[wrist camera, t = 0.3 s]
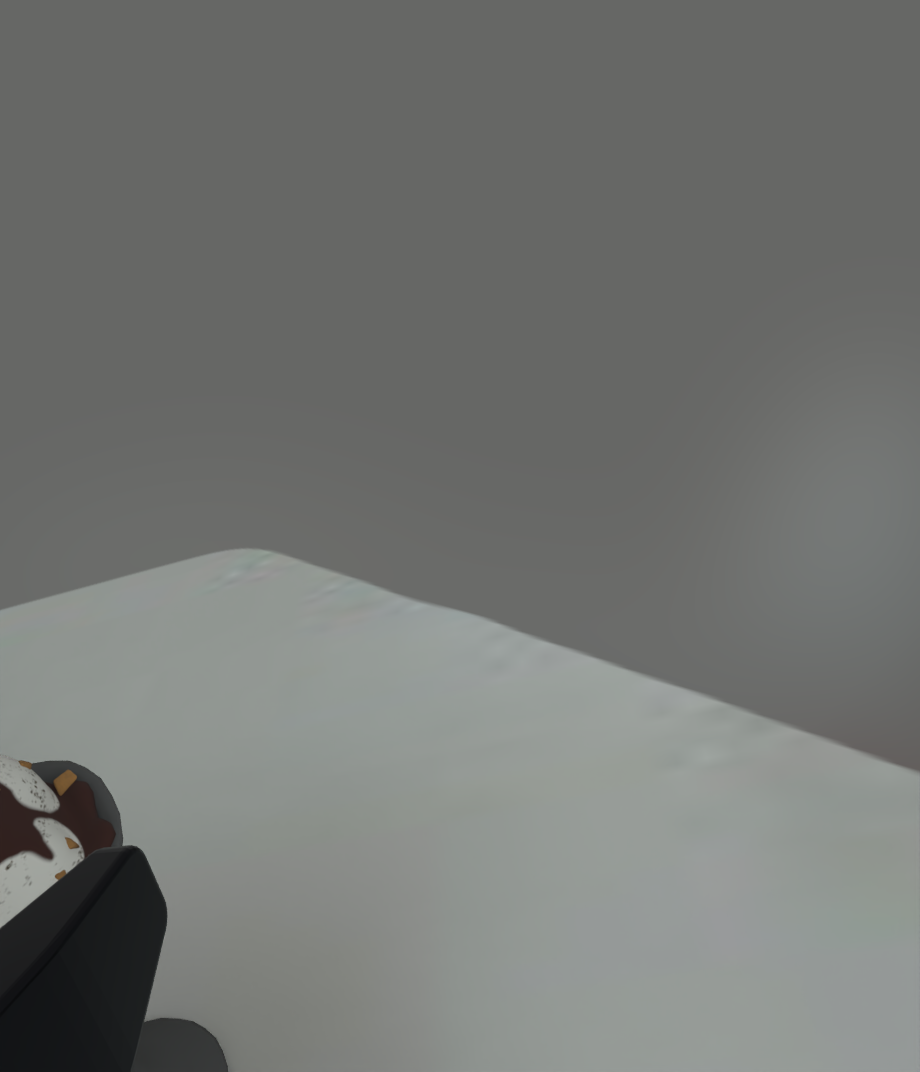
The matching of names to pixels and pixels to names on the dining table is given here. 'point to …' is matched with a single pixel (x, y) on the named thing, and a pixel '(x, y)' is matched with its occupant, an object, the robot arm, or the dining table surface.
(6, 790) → the sundae
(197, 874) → the dining table surface
